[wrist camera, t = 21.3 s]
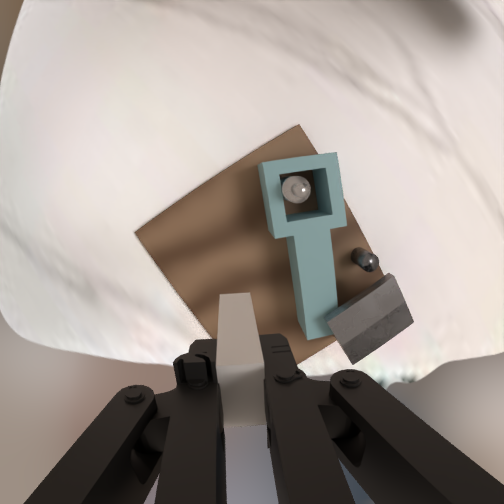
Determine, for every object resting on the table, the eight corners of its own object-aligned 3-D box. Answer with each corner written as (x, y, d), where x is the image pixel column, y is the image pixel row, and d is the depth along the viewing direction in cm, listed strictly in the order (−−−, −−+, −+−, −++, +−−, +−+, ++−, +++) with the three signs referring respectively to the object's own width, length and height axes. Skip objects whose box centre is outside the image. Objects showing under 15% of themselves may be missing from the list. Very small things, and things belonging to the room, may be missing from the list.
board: (136, 231, 34) (134, 232, 33) (298, 125, 33) (299, 124, 32) (254, 385, 39) (254, 388, 39) (393, 298, 38) (395, 299, 37)
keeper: (301, 283, 36) (317, 306, 29) (361, 243, 35) (388, 257, 29) (334, 336, 38) (352, 364, 31) (389, 298, 37) (416, 320, 31)
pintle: (269, 184, 34) (282, 185, 26) (287, 172, 34) (307, 170, 25) (280, 203, 34) (297, 210, 26) (299, 191, 34) (322, 195, 26)
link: (257, 164, 33) (262, 162, 28) (321, 155, 33) (336, 152, 28) (283, 323, 37) (290, 343, 32) (340, 310, 37) (355, 328, 32)
